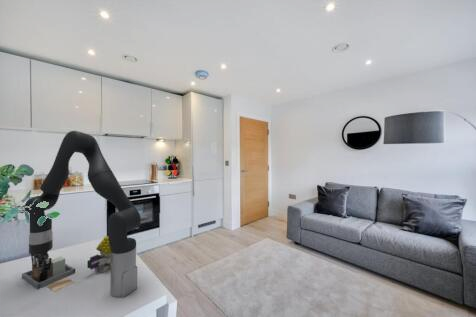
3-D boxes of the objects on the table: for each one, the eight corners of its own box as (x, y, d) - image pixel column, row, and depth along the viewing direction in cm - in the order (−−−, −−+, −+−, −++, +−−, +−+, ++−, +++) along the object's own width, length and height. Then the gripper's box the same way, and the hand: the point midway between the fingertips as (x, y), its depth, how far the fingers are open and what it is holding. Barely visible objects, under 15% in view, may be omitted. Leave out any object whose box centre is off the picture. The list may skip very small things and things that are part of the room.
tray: (75, 274, 93) (75, 268, 93) (37, 290, 81) (37, 284, 81) (58, 265, 100) (58, 260, 100) (22, 279, 89) (22, 273, 89)
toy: (82, 274, 93) (82, 242, 93) (110, 261, 105) (111, 233, 104) (93, 280, 89) (93, 247, 88) (122, 266, 100) (122, 237, 100)
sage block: (65, 271, 94) (65, 258, 94) (53, 276, 90) (53, 263, 90) (60, 268, 96) (60, 256, 96) (48, 273, 92) (48, 260, 92)
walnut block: (49, 277, 89) (49, 264, 89) (36, 283, 85) (36, 269, 85) (45, 274, 91) (45, 261, 91) (31, 280, 87) (31, 266, 87)
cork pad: (74, 283, 87) (74, 281, 87) (53, 293, 80) (53, 291, 80) (66, 278, 90) (66, 277, 90) (46, 287, 83) (46, 286, 83)
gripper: (59, 240, 88) (59, 278, 89) (44, 234, 95) (44, 269, 95) (36, 247, 82) (36, 288, 82) (22, 240, 88) (22, 278, 88)
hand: (41, 278), depth 88 cm, fingers closed on walnut block, 4 cm apart
